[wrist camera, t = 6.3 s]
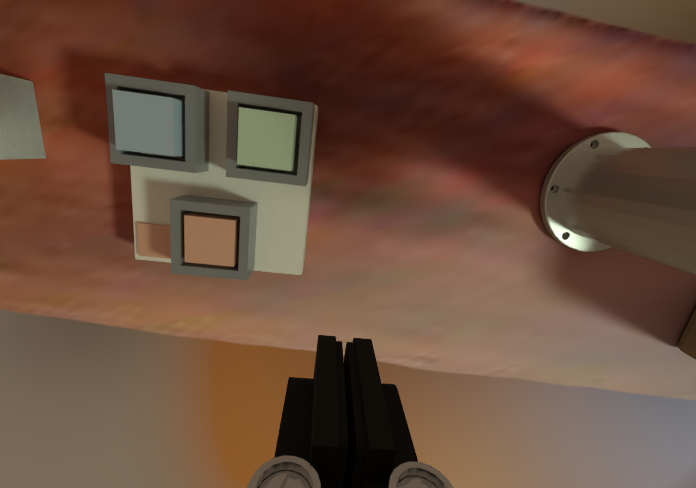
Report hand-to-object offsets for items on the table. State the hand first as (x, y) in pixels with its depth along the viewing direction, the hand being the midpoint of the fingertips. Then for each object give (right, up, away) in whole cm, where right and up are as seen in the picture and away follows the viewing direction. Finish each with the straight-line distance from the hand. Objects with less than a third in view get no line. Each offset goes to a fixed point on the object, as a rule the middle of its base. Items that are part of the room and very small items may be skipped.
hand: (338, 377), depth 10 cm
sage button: (-6, +13, +17) cm, 22 cm away
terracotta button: (-12, +5, +20) cm, 24 cm away
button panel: (-11, +10, +23) cm, 27 cm away
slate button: (-15, +14, +16) cm, 26 cm away
